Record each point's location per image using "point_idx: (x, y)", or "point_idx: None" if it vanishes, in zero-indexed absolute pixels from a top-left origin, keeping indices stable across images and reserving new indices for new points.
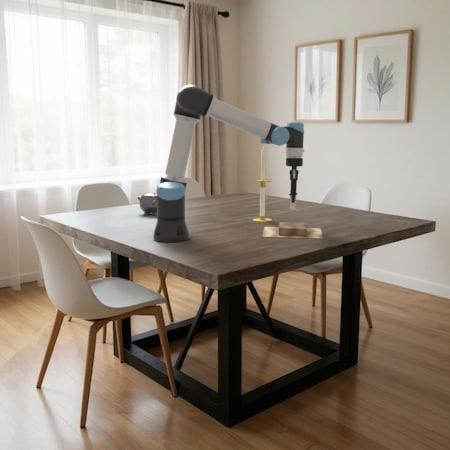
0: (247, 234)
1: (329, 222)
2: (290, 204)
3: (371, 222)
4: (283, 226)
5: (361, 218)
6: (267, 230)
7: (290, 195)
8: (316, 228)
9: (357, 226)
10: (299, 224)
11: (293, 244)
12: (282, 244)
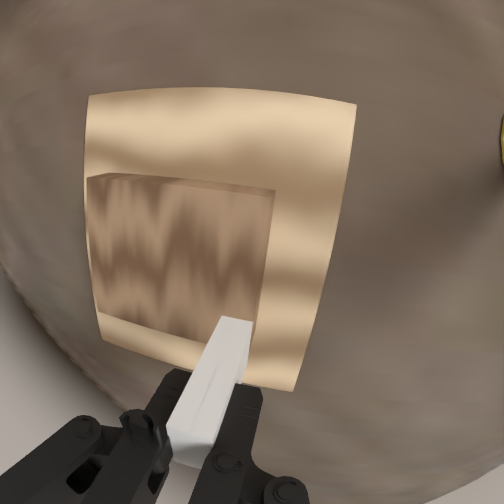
0: (152, 20)
1: (418, 426)
2: (205, 350)
3: (373, 488)
4: (126, 207)
5: (431, 475)
6: (228, 110)
7: (168, 426)
8: (288, 377)
9: (327, 469)
10: (198, 311)
11: (26, 221)
12: (20, 184)
